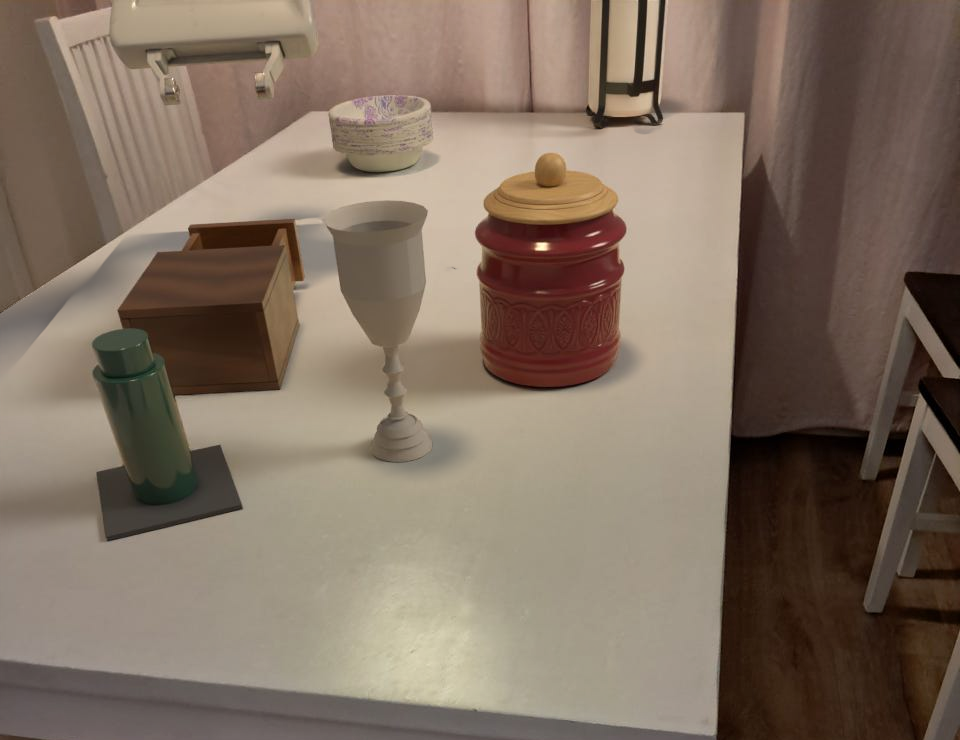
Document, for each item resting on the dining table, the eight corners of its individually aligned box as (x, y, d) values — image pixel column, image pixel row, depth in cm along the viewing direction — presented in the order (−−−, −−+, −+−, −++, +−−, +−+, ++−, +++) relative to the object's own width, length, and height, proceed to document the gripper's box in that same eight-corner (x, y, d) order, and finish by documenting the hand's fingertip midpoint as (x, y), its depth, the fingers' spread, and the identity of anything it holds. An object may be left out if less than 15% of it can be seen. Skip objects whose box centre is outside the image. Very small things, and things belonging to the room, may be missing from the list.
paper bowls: (337, 183, 134) (329, 121, 129) (333, 156, 145) (325, 98, 140) (441, 173, 135) (437, 112, 130) (429, 147, 147) (425, 90, 141)
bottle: (121, 491, 72) (68, 342, 64) (174, 464, 74) (130, 318, 66) (158, 512, 69) (108, 361, 61) (212, 484, 72) (170, 335, 64)
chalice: (439, 421, 79) (421, 196, 67) (451, 461, 74) (434, 225, 62) (354, 431, 78) (320, 206, 66) (360, 472, 73) (325, 236, 61)
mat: (97, 475, 74) (96, 471, 74) (221, 448, 77) (220, 444, 77) (107, 541, 67) (105, 536, 67) (243, 508, 70) (241, 504, 69)
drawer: (210, 270, 106) (197, 213, 102) (309, 265, 106) (299, 207, 102) (177, 332, 93) (160, 269, 89) (289, 326, 93) (277, 262, 89)
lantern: (556, 123, 155) (558, -107, 135) (618, 104, 162) (629, -115, 143) (635, 139, 145) (650, -106, 125) (698, 118, 153) (722, -115, 133)
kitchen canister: (626, 334, 90) (638, 133, 78) (610, 395, 81) (621, 177, 69) (496, 328, 93) (490, 132, 81) (466, 386, 83) (453, 175, 72)
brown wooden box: (178, 331, 96) (157, 251, 90) (299, 325, 96) (285, 244, 90) (143, 396, 85) (116, 310, 79) (280, 389, 85) (262, 302, 79)
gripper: (95, -54, 89) (99, 83, 88) (306, -68, 89) (312, 70, 88) (122, -4, 95) (126, 124, 94) (319, -17, 95) (324, 112, 94)
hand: (217, 98), depth 91 cm, fingers open, 8 cm apart
